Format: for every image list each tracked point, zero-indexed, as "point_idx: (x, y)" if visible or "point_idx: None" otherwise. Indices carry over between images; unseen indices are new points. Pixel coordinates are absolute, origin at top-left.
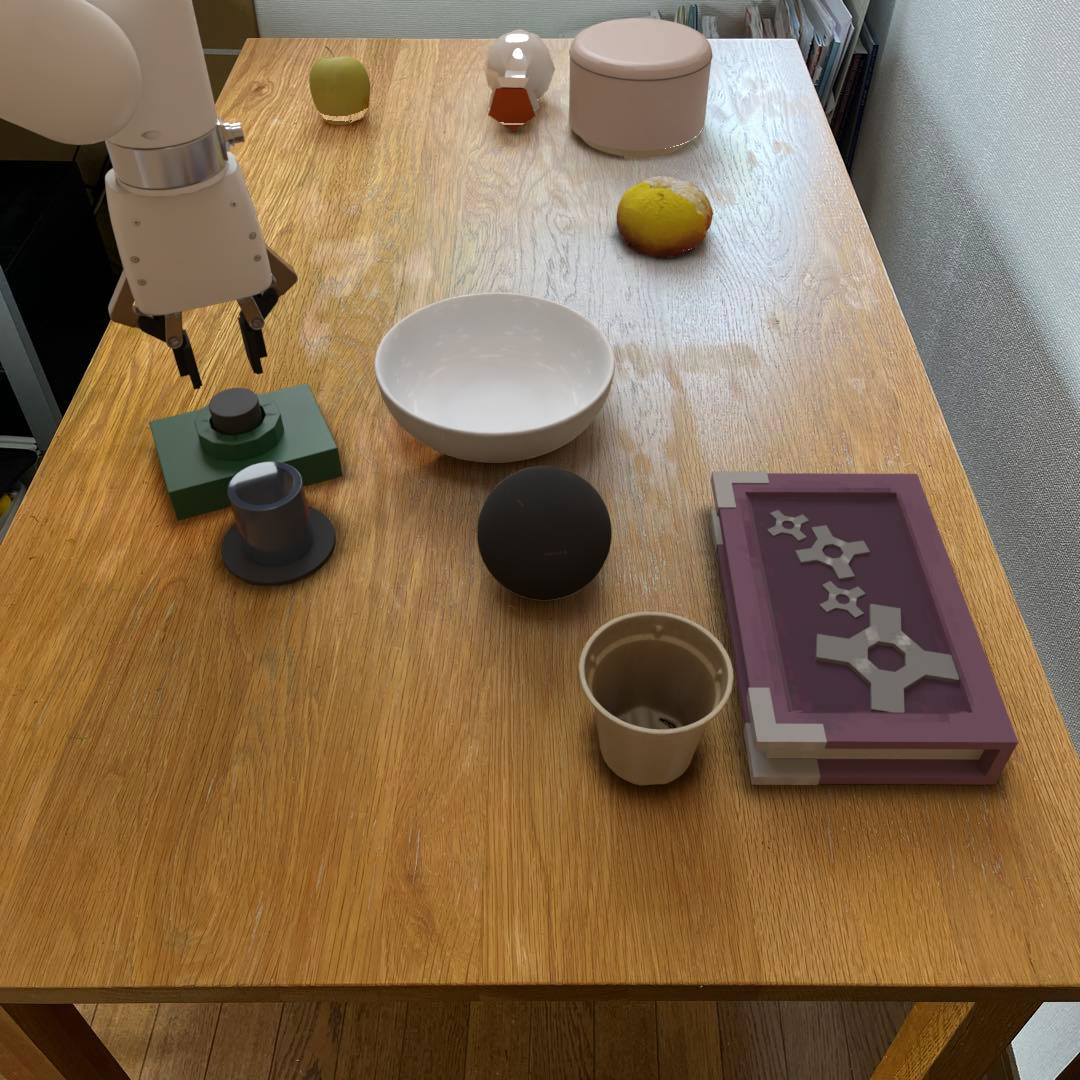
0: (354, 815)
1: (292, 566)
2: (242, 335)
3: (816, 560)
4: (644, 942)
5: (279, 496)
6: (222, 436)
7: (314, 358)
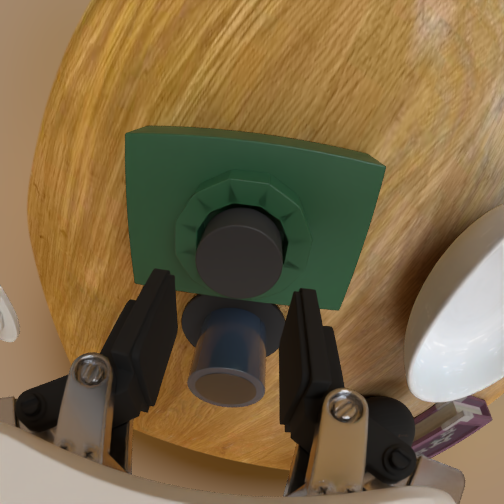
0: (212, 435)
1: None
2: (294, 351)
3: (433, 443)
4: (277, 465)
5: (233, 403)
6: None
7: (418, 49)
